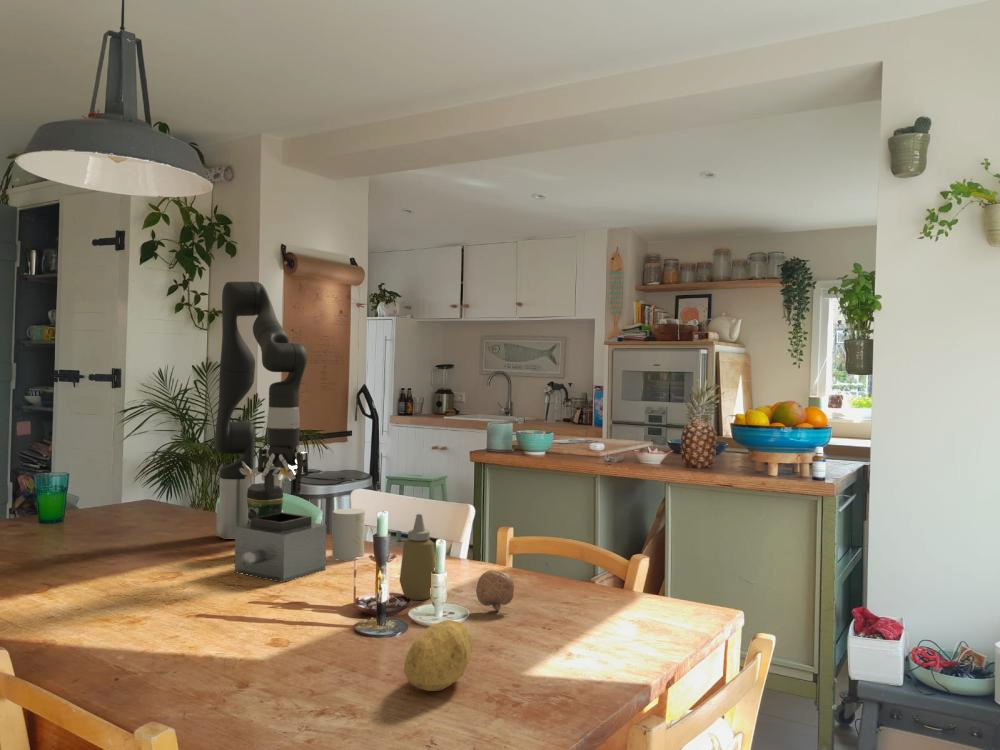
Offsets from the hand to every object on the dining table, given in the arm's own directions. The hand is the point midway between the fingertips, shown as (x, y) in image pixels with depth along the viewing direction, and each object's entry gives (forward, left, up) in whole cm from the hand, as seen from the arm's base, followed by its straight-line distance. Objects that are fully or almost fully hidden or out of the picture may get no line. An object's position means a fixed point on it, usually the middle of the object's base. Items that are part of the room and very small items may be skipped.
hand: (282, 492), depth 190 cm
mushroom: (+59, +2, -19) cm, 62 cm away
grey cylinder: (+4, +20, -19) cm, 28 cm away
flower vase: (-26, +23, -19) cm, 40 cm away
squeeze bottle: (+40, +1, -19) cm, 44 cm away
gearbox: (0, -2, -19) cm, 19 cm away
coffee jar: (-16, +10, -19) cm, 27 cm away
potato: (+70, -36, -19) cm, 81 cm away
